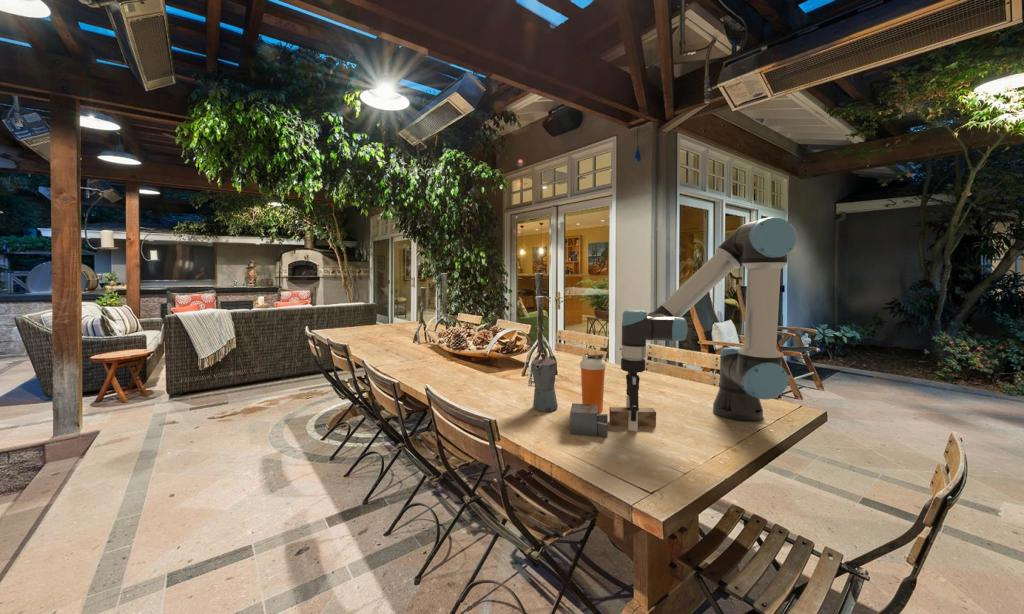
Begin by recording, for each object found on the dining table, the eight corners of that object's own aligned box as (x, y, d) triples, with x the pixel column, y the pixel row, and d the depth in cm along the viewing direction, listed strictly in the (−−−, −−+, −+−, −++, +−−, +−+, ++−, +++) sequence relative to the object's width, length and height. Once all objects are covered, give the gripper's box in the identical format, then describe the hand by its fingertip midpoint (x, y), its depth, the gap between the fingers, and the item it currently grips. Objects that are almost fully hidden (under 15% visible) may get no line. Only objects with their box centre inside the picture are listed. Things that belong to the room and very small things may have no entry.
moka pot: (525, 412, 143) (525, 357, 141) (539, 400, 157) (539, 349, 156) (551, 416, 139) (551, 359, 138) (563, 402, 154) (563, 350, 152)
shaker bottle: (605, 414, 140) (606, 357, 139) (579, 413, 142) (579, 357, 140) (604, 406, 149) (605, 352, 147) (580, 405, 151) (580, 352, 149)
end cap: (607, 426, 130) (607, 404, 129) (607, 438, 121) (607, 415, 120) (572, 423, 133) (572, 402, 132) (569, 434, 123) (570, 412, 123)
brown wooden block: (652, 422, 133) (652, 407, 133) (655, 427, 129) (656, 412, 129) (609, 421, 134) (609, 407, 134) (611, 426, 130) (611, 411, 130)
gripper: (619, 350, 143) (618, 408, 145) (622, 366, 119) (620, 436, 121) (642, 351, 141) (640, 410, 143) (649, 367, 117) (647, 438, 119)
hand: (631, 422), depth 132 cm, fingers open, 13 cm apart
